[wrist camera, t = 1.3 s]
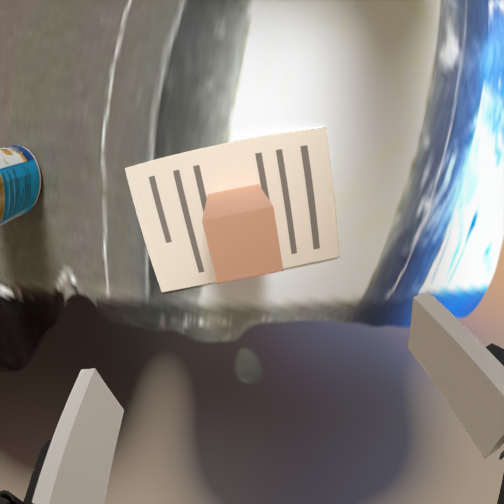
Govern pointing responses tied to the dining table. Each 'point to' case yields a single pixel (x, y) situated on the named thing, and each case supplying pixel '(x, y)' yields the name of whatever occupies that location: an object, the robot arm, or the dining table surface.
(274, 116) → the dining table surface
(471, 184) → the dining table surface
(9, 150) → the beverage bottle
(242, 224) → the block
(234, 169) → the letter
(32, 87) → the dining table surface
